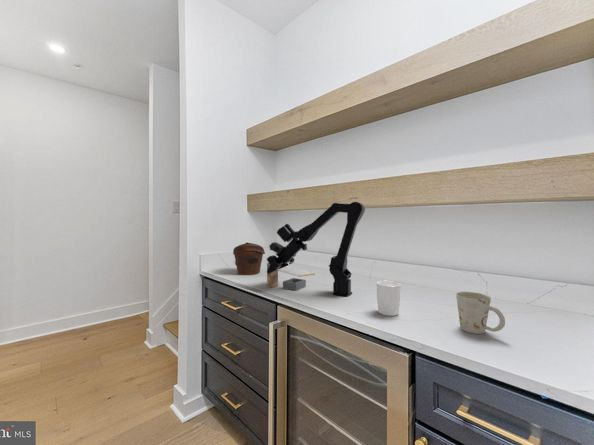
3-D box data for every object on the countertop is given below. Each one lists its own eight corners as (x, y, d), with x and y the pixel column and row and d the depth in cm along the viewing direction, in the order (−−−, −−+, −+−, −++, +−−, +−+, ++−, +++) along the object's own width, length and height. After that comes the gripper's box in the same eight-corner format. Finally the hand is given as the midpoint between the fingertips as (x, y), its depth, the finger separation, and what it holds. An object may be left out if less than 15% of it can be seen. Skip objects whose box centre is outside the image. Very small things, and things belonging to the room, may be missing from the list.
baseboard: (297, 278, 150) (314, 275, 157) (297, 272, 150) (314, 270, 157) (268, 269, 175) (284, 267, 182) (268, 265, 175) (284, 263, 182)
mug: (466, 322, 85) (466, 290, 85) (513, 338, 74) (514, 301, 74) (449, 327, 81) (450, 293, 81) (497, 344, 70) (497, 305, 70)
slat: (277, 285, 131) (277, 262, 131) (272, 287, 127) (272, 263, 127) (272, 284, 132) (272, 261, 132) (267, 286, 129) (267, 263, 128)
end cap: (305, 286, 129) (305, 279, 129) (296, 290, 122) (296, 283, 122) (293, 284, 133) (293, 277, 133) (282, 288, 126) (282, 281, 126)
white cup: (378, 316, 91) (378, 285, 91) (374, 308, 98) (375, 280, 98) (403, 317, 90) (403, 286, 89) (397, 309, 97) (398, 281, 97)
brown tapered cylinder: (249, 268, 175) (249, 240, 174) (271, 272, 162) (271, 242, 161) (225, 273, 161) (225, 242, 161) (247, 278, 148) (247, 244, 148)
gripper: (288, 235, 137) (268, 256, 141) (270, 237, 119) (248, 261, 124) (303, 252, 134) (282, 273, 138) (287, 257, 116) (264, 280, 121)
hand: (269, 271), depth 130 cm, fingers closed on slat, 5 cm apart
